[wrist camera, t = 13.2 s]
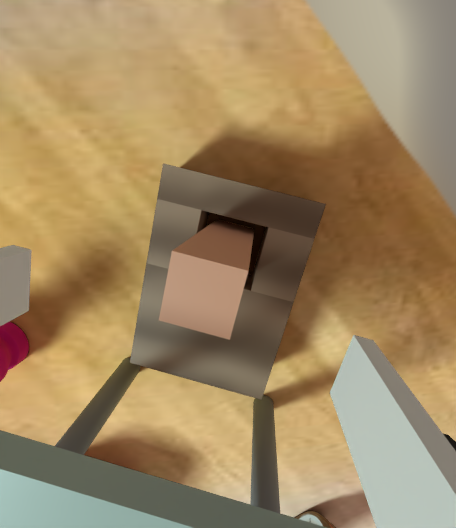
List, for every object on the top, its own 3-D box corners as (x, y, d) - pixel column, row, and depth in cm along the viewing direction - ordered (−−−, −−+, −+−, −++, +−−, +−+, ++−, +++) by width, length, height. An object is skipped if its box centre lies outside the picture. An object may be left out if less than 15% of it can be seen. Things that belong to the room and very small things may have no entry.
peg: (217, 219, 30) (172, 250, 14) (254, 228, 30) (248, 270, 14) (209, 255, 31) (158, 320, 16) (244, 264, 31) (229, 339, 15)
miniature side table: (132, 282, 33) (-88, 442, 12) (302, 328, 32) (381, 584, 11) (117, 376, 36) (-73, 625, 16) (270, 420, 35) (286, 744, 15)
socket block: (179, 167, 29) (163, 163, 24) (314, 201, 28) (325, 204, 24) (148, 338, 34) (129, 362, 30) (261, 369, 34) (261, 399, 29)
